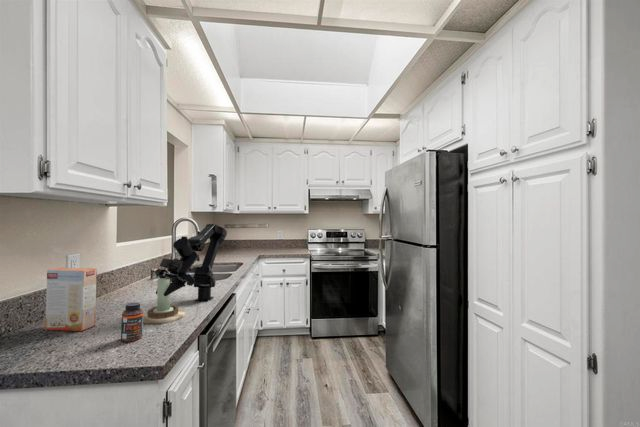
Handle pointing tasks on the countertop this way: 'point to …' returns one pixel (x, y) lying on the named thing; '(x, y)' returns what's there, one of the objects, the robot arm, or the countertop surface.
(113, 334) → the countertop surface
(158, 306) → the flanged peg
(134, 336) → the supplement bottle
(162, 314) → the locating collar
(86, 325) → the cracker box
